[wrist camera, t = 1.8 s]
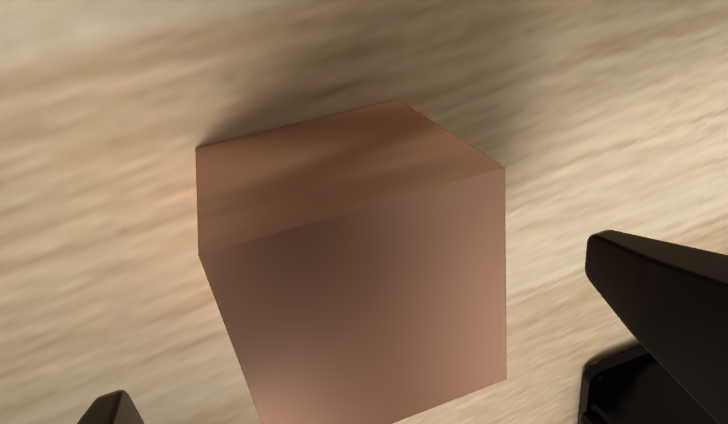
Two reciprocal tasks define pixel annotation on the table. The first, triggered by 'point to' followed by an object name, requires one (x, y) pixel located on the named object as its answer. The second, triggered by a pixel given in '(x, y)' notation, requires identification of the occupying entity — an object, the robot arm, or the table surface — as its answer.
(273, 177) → the terracotta cube
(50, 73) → the table surface
